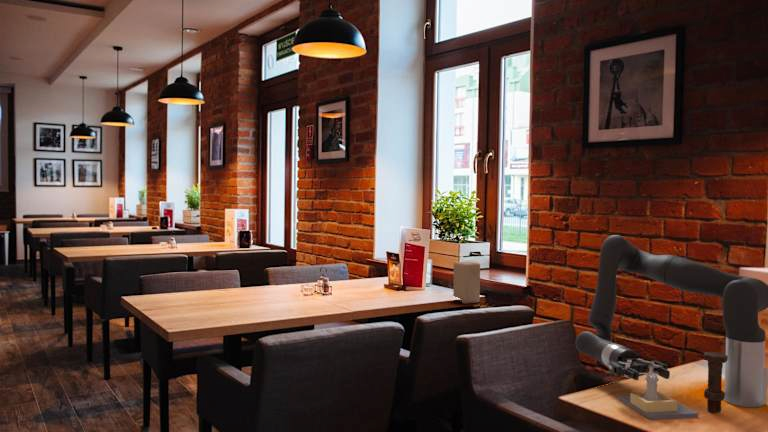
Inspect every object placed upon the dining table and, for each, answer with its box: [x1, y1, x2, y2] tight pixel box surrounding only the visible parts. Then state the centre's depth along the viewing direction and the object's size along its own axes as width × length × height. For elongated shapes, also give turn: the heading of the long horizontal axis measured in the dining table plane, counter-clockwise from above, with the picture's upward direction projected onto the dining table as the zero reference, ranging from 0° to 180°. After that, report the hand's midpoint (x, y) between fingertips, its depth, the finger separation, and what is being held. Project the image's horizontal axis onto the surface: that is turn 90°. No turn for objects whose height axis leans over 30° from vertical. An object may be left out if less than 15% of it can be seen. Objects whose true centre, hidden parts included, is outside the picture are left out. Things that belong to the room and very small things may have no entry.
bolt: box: [702, 351, 728, 414], centre depth 166 cm, size 6×5×15 cm
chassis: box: [618, 391, 699, 421], centre depth 169 cm, size 13×15×4 cm
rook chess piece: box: [643, 374, 660, 401], centre depth 167 cm, size 4×4×8 cm
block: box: [452, 260, 481, 304], centre depth 327 cm, size 10×10×20 cm
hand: (652, 375), depth 167 cm, fingers open, 8 cm apart
